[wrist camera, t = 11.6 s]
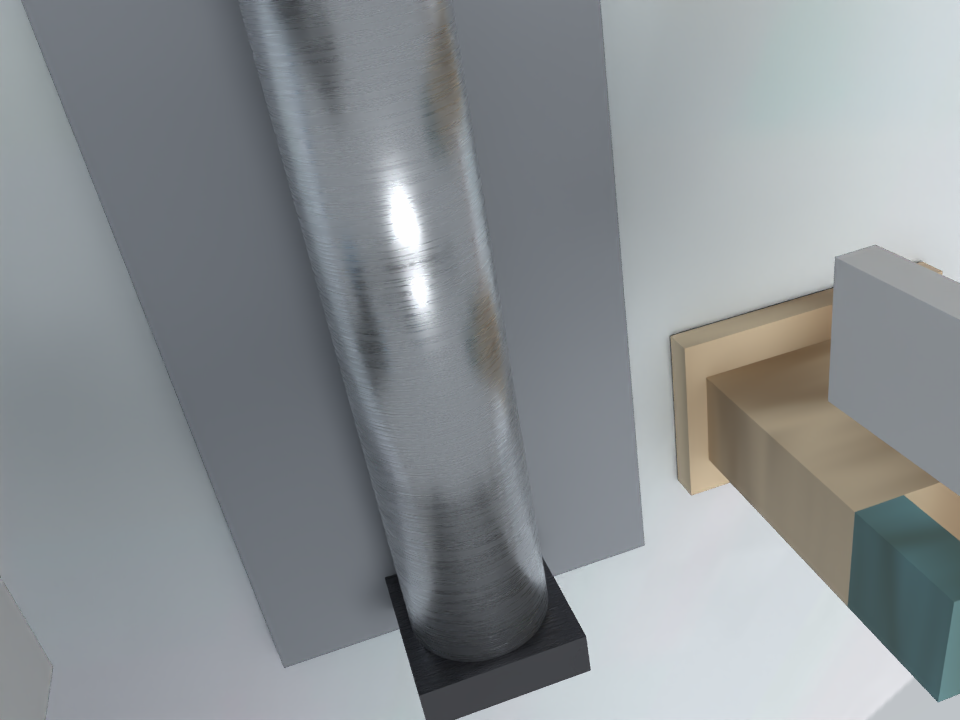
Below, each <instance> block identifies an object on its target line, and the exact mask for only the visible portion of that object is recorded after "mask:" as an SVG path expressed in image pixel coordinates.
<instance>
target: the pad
mask: <svg viewBox="0 0 960 720" xmlns="http://www.w3.org/2000/svg"><path fill="white" fill-rule="evenodd" d="M21 1H22V3H23V6H24V8H25V11H26V14H27V16H28V19H29V21H30V24H31V26H32V29H33V31H34V34H35V36H36V39H37V41H38V44H39V47H40V49H41V52H42V54H43V57H44V59H45V62H46V64H47V67H48V69H49V72H50V75H51V77H52V80H53V82H54V85H55V87H56V90H57V92H58V95H59V97H60V100H61V102H62V105H63V108H64V110H65V113H66V115H67V118H68V120H69V123H70V125H71V128H72V130H73V133H74V135H75V138H76V141H77V143H78V146H79V148H80V151H81V153H82V156H83V158H84V161H85V163H86V166H87V169H88V171H89V174H90V176H91V179H92V181H93V184H94V186H95V189H96V191H97V194H98V196H99V199H100V202H101V204H102V207H103V209H104V212H105V214H106V217H107V219H108V222H109V224H110V227H111V229H112V232H113V235H114V237H115V240H116V242H117V245H118V247H119V250H120V252H121V255H122V257H123V260H124V263H125V265H126V268H127V270H128V273H129V275H130V278H131V280H132V283H133V285H134V288H135V290H136V293H137V296H138V298H139V301H140V303H141V306H142V308H143V311H144V313H145V316H146V318H147V321H148V323H149V326H150V329H151V331H152V334H153V336H154V339H155V341H156V344H157V346H158V349H159V351H160V354H161V357H162V359H163V362H164V364H165V367H166V369H167V372H168V374H169V377H170V379H171V382H172V384H173V387H174V390H175V392H176V395H177V397H178V400H179V402H180V405H181V407H182V410H183V412H184V415H185V417H186V420H187V423H188V425H189V428H190V430H191V433H192V435H193V438H194V440H195V443H196V445H197V448H198V451H199V453H200V456H201V458H202V461H203V463H204V466H205V468H206V471H207V473H208V476H209V478H210V481H211V484H212V486H213V489H214V491H215V494H216V496H217V499H218V501H219V504H220V506H221V509H222V511H223V514H224V517H225V519H226V522H227V524H228V527H229V529H230V532H231V534H232V537H233V539H234V542H235V545H236V547H237V550H238V552H239V555H240V557H241V560H242V562H243V565H244V567H245V570H246V572H247V575H248V578H249V580H250V583H251V585H252V588H253V590H254V593H255V595H256V598H257V600H258V603H259V605H260V608H261V611H262V613H263V616H264V618H265V621H266V623H267V626H268V628H269V631H270V633H271V636H272V639H273V641H274V644H275V646H276V649H277V651H278V654H279V656H280V659H281V661H282V664H283V666H284V668H286V667H289V666H292V665H295V664H298V663H300V662H303V661H306V660H309V659H312V658H315V657H318V656H321V655H324V654H327V653H330V652H333V651H336V650H339V649H342V648H345V647H348V646H350V645H353V644H356V643H359V642H362V641H365V640H368V639H371V638H374V637H377V636H380V635H383V634H386V633H389V632H392V631H395V630H397V629H399V626H398V622H397V619H396V615H395V612H394V609H393V605H392V602H391V598H390V595H389V591H388V588H387V584H386V581H385V577H388V576H391V575H394V574H397V573H396V569H395V565H394V562H393V558H392V555H391V551H390V547H389V544H388V540H387V537H386V533H385V529H384V526H383V522H382V519H381V515H380V511H379V508H378V504H377V501H376V497H375V493H374V490H373V486H372V482H371V479H370V475H369V472H368V468H367V464H366V461H365V457H364V454H363V450H362V446H361V443H360V439H359V436H358V432H357V428H356V425H355V421H354V417H353V414H352V410H351V407H350V403H349V399H348V396H347V392H346V389H345V385H344V381H343V378H342V374H341V371H340V367H339V363H338V360H337V356H336V353H335V349H334V345H333V342H332V338H331V334H330V331H329V327H328V324H327V320H326V316H325V313H324V309H323V306H322V302H321V298H320V295H319V291H318V288H317V284H316V280H315V277H314V273H313V270H312V266H311V262H310V259H309V255H308V251H307V248H306V244H305V241H304V237H303V233H302V230H301V226H300V223H299V219H298V215H297V212H296V208H295V205H294V201H293V197H292V194H291V190H290V186H289V183H288V179H287V176H286V172H285V168H284V165H283V161H282V158H281V154H280V150H279V147H278V143H277V140H276V136H275V132H274V129H273V125H272V122H271V118H270V114H269V111H268V107H267V103H266V100H265V96H264V93H263V89H262V85H261V82H260V78H259V75H258V71H257V67H256V64H255V60H254V57H253V53H252V49H251V46H250V42H249V39H248V35H247V31H246V28H245V24H244V20H243V17H242V13H241V10H240V6H239V2H238V0H21ZM452 3H453V10H454V16H455V22H456V28H457V34H458V40H459V47H460V53H461V59H462V65H463V71H464V78H465V84H466V90H467V96H468V102H469V109H470V115H471V121H472V127H473V133H474V139H475V146H476V152H477V158H478V164H479V170H480V177H481V183H482V189H483V195H484V201H485V207H486V214H487V220H488V226H489V232H490V238H491V245H492V251H493V257H494V263H495V269H496V276H497V282H498V288H499V294H500V300H501V306H502V313H503V319H504V325H505V331H506V337H507V344H508V350H509V356H510V362H511V368H512V375H513V381H514V387H515V393H516V399H517V405H518V412H519V418H520V424H521V430H522V436H523V443H524V449H525V455H526V461H527V467H528V473H529V480H530V486H531V492H532V498H533V504H534V511H535V517H536V523H537V529H538V535H539V542H540V548H541V554H542V557H543V558H544V560H545V562H546V564H547V566H548V568H549V569H550V571H551V573H552V575H553V576H556V575H559V574H562V573H565V572H568V571H571V570H574V569H577V568H580V567H583V566H586V565H589V564H591V563H594V562H597V561H600V560H603V559H606V558H609V557H612V556H615V555H618V554H621V553H624V552H627V551H630V550H633V549H636V548H638V547H641V546H644V545H645V544H644V532H643V520H642V507H641V495H640V483H639V471H638V458H637V446H636V434H635V422H634V409H633V397H632V385H631V373H630V360H629V348H628V336H627V324H626V311H625V299H624V287H623V275H622V262H621V250H620V238H619V226H618V213H617V201H616V189H615V177H614V164H613V152H612V140H611V128H610V116H609V103H608V91H607V79H606V67H605V54H604V42H603V30H602V18H601V5H600V0H452Z"/></svg>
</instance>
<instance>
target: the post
mask: <svg viewBox="0 0 960 720" xmlns="http://www.w3.org/2000/svg"><path fill="white" fill-rule="evenodd" d="M917 264H919V265H921V266H923V267H925V268H928V269H930V270H932V271H934V272H936V273H939V274H941V275H942V271H941V270H938V269H936V268H934V267H932V266H930V265H928V264H926V263H924V262H919V263H917ZM832 308H833V288H831V289H828V290H824V291H821V292H818V293H814V294H811V295H807V296H804V297H801V298H797V299H794V300H790V301H787V302H784V303H780V304H777V305H774V306H770V307H767V308H763V309H760V310H757V311H753V312H750V313H747V314H743V315H740V316H736V317H733V318H730V319H726V320H723V321H719V322H716V323H713V324H709V325H706V326H703V327H699V328H696V329H692V330H689V331H686V332H682V333H679V334H675V335H672V336H670V337H671V356H672V374H673V393H674V412H675V431H676V449H677V468H678V481H679V482H680V483H681V484H682V485H683V486H684V488H685V489H686V490H687V491H688V492H689V493H690V495H694V494H697V493H700V492H703V491H706V490H709V489H712V488H715V487H718V486H721V485H724V484H727V483H731V484H732V485H733V486H734V487H735V488H736V489H737V490H738V491H739V492H740V493H741V494H742V495H743V496H744V497H745V498H746V500H747V501H748V502H749V503H750V504H751V505H752V506H753V507H754V508H755V509H756V510H757V511H758V512H759V513H760V514H761V515H762V517H763V518H764V519H765V520H766V521H767V522H768V523H769V524H770V525H771V526H772V527H773V528H774V529H775V530H776V531H777V532H778V533H779V535H780V536H781V537H782V538H783V539H784V540H785V541H786V542H787V543H788V544H789V545H790V546H791V547H792V548H793V549H794V550H795V551H796V553H797V554H798V555H799V556H800V557H801V558H802V559H803V560H804V561H805V562H806V563H807V564H808V565H809V566H810V567H811V568H812V569H813V571H814V572H815V573H816V574H817V575H818V576H819V577H820V578H821V579H822V580H823V581H824V582H825V583H826V584H827V585H828V586H829V587H830V589H831V590H832V591H833V592H834V593H835V594H836V595H837V596H838V597H839V598H840V599H841V600H842V601H843V602H844V603H845V604H846V605H847V607H848V608H849V609H850V610H851V611H852V612H853V613H854V614H855V615H856V616H857V617H858V618H859V619H860V620H861V621H862V622H863V623H864V625H865V626H866V627H867V628H868V629H869V630H870V631H871V632H872V633H873V634H874V635H875V636H876V637H877V638H878V639H879V640H880V641H881V643H882V644H883V645H884V646H885V647H886V648H887V649H888V650H889V651H890V652H891V653H892V654H893V655H894V656H895V657H896V658H897V659H898V661H899V662H900V663H901V664H902V665H903V666H904V667H905V668H906V669H907V670H908V671H909V672H910V673H911V674H912V675H913V676H914V678H915V679H916V680H917V681H918V682H919V683H920V684H921V685H922V686H923V687H924V688H925V689H926V690H927V691H928V692H929V693H930V694H931V696H932V697H934V699H936V701H937V702H940V701H943V700H945V699H948V698H950V697H953V696H955V695H958V694H960V496H959V495H957V494H956V493H955V492H953V491H952V490H950V489H949V488H948V487H946V486H945V485H943V484H942V483H941V482H939V481H938V480H937V479H935V478H934V477H932V476H931V475H930V474H928V473H927V472H925V471H924V470H923V469H921V468H920V467H919V466H917V465H916V464H914V463H913V462H912V461H910V460H909V459H907V458H906V457H905V456H903V455H902V454H901V453H899V452H898V451H896V450H895V449H894V448H892V447H891V446H889V445H888V444H887V443H885V442H884V441H883V440H881V439H880V438H878V437H877V436H876V435H874V434H873V433H871V432H870V431H869V430H867V429H866V428H865V427H863V426H862V425H860V424H859V423H858V422H856V421H855V420H853V419H852V418H851V417H849V416H848V415H847V414H845V413H844V412H842V411H841V410H840V409H838V408H837V407H836V406H834V405H833V404H831V403H830V402H829V401H828V390H829V370H830V349H831V328H832Z"/></svg>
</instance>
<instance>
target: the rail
mask: <svg viewBox="0 0 960 720" xmlns="http://www.w3.org/2000/svg"><path fill="white" fill-rule="evenodd" d="M238 2H239V6H240V10H241V13H242V17H243V20H244V24H245V28H246V31H247V35H248V39H249V42H250V46H251V49H252V53H253V57H254V60H255V64H256V67H257V71H258V75H259V78H260V82H261V85H262V89H263V93H264V96H265V100H266V103H267V107H268V111H269V114H270V118H271V122H272V125H273V129H274V132H275V136H276V140H277V143H278V147H279V150H280V154H281V158H282V161H283V165H284V168H285V172H286V176H287V179H288V183H289V186H290V190H291V194H292V197H293V201H294V205H295V208H296V212H297V215H298V219H299V223H300V226H301V230H302V233H303V237H304V241H305V244H306V248H307V251H308V255H309V259H310V262H311V266H312V270H313V273H314V277H315V280H316V284H317V288H318V291H319V295H320V298H321V302H322V306H323V309H324V313H325V316H326V320H327V324H328V327H329V331H330V334H331V338H332V342H333V345H334V349H335V353H336V356H337V360H338V363H339V367H340V371H341V374H342V378H343V381H344V385H345V389H346V392H347V396H348V399H349V403H350V407H351V410H352V414H353V417H354V421H355V425H356V428H357V432H358V436H359V439H360V443H361V446H362V450H363V454H364V457H365V461H366V464H367V468H368V472H369V475H370V479H371V482H372V486H373V490H374V493H375V497H376V501H377V504H378V508H379V511H380V515H381V519H382V522H383V526H384V529H385V533H386V537H387V540H388V544H389V547H390V551H391V555H392V558H393V562H394V565H395V569H396V573H397V574H394V575H391V576H388V577H385V581H386V584H387V588H388V591H389V595H390V598H391V602H392V605H393V609H394V612H395V615H396V619H397V622H398V626H399V629H400V633H401V636H402V639H403V643H404V646H405V650H406V653H407V657H408V660H409V663H410V667H411V670H412V674H413V677H414V681H415V684H416V687H417V691H418V694H419V698H420V701H421V705H422V708H423V711H424V715H425V718H426V720H455V719H458V718H461V717H463V716H466V715H469V714H472V713H474V712H477V711H480V710H483V709H485V708H488V707H491V706H494V705H496V704H499V703H502V702H505V701H507V700H510V699H513V698H516V697H518V696H521V695H524V694H527V693H529V692H532V691H535V690H538V689H540V688H543V687H546V686H549V685H551V684H554V683H557V682H560V681H562V680H565V679H568V678H571V677H573V676H576V675H579V674H582V673H584V672H587V671H590V670H591V669H590V662H589V654H588V647H587V640H586V635H585V634H584V632H583V630H582V628H581V626H580V624H579V623H578V621H577V619H576V617H575V615H574V613H573V612H572V610H571V608H570V606H569V604H568V602H567V601H566V599H565V597H564V595H563V593H562V591H561V590H560V588H559V586H558V584H557V582H556V580H555V579H554V577H553V575H552V573H551V571H550V569H549V568H548V566H547V564H546V562H545V560H544V558H543V557H542V554H541V548H540V542H539V535H538V529H537V523H536V517H535V511H534V504H533V498H532V492H531V486H530V480H529V473H528V467H527V461H526V455H525V449H524V443H523V436H522V430H521V424H520V418H519V412H518V405H517V399H516V393H515V387H514V381H513V375H512V368H511V362H510V356H509V350H508V344H507V337H506V331H505V325H504V319H503V313H502V306H501V300H500V294H499V288H498V282H497V276H496V269H495V263H494V257H493V251H492V245H491V238H490V232H489V226H488V220H487V214H486V207H485V201H484V195H483V189H482V183H481V177H480V170H479V164H478V158H477V152H476V146H475V139H474V133H473V127H472V121H471V115H470V109H469V102H468V96H467V90H466V84H465V78H464V71H463V65H462V59H461V53H460V47H459V40H458V34H457V28H456V22H455V16H454V10H453V3H452V0H238Z"/></svg>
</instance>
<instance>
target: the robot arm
mask: <svg viewBox="0 0 960 720" xmlns="http://www.w3.org/2000/svg"><path fill="white" fill-rule="evenodd" d="M828 401H829V402H830V403H831V404H833V405H834V406H836V407H837V408H838V409H840V410H841V411H842V412H844V413H845V414H847V415H848V416H849V417H851V418H852V419H853V420H855V421H856V422H858V423H859V424H860V425H862V426H863V427H865V428H866V429H867V430H869V431H870V432H871V433H873V434H874V435H876V436H877V437H878V438H880V439H881V440H883V441H884V442H885V443H887V444H888V445H889V446H891V447H892V448H894V449H895V450H896V451H898V452H899V453H901V454H902V455H903V456H905V457H906V458H907V459H909V460H910V461H912V462H913V463H914V464H916V465H917V466H919V467H920V468H921V469H923V470H924V471H925V472H927V473H928V474H930V475H931V476H932V477H934V478H935V479H937V480H938V481H939V482H941V483H942V484H943V485H945V486H946V487H948V488H949V489H950V490H952V491H953V492H955V493H956V494H957V495H959V496H960V283H958V282H956V281H954V280H952V279H950V278H947V277H945V276H943V275H941V274H939V273H936V272H934V271H932V270H930V269H928V268H925V267H923V266H921V265H919V264H917V263H914V262H912V261H910V260H908V259H906V258H904V257H901V256H899V255H897V254H895V253H893V252H890V251H888V250H886V249H884V248H882V247H879V246H877V245H873V246H870V247H867V248H863V249H860V250H857V251H854V252H850V253H847V254H844V255H841V256H837V257H835V267H834V287H833V308H832V328H831V349H830V370H829V390H828ZM52 671H53V666H52V664H51V662H50V661H49V659H48V657H47V656H46V654H45V652H44V650H43V649H42V647H41V645H40V644H39V642H38V640H37V638H36V637H35V635H34V633H33V632H32V630H31V628H30V626H29V625H28V623H27V621H26V620H25V618H24V616H23V614H22V613H21V611H20V609H19V608H18V606H17V604H16V602H15V601H14V599H13V597H12V596H11V594H10V592H9V590H8V589H7V587H6V585H5V584H4V582H3V580H2V578H1V577H0V720H45V719H46V712H47V705H48V699H49V692H50V685H51V678H52Z"/></svg>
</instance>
